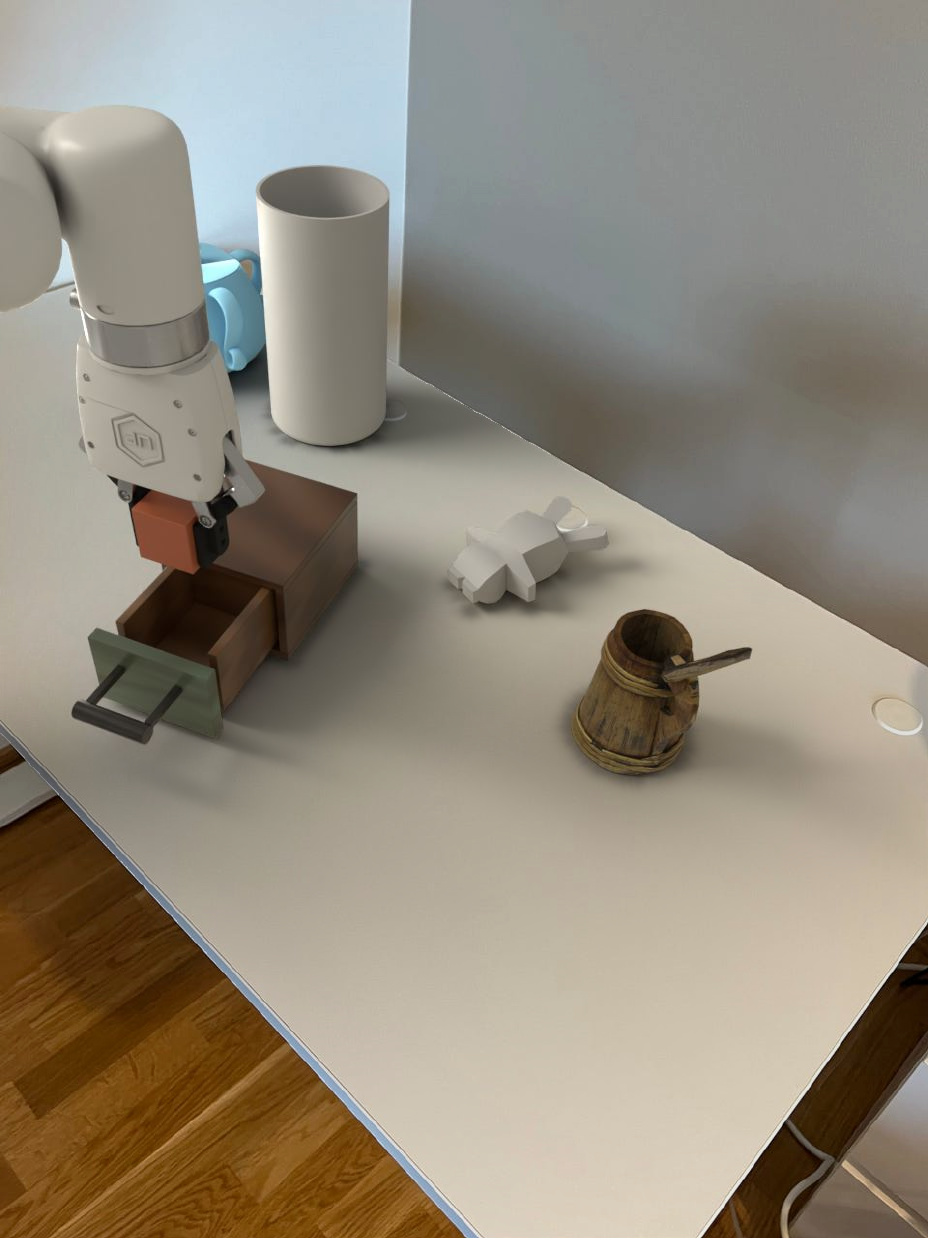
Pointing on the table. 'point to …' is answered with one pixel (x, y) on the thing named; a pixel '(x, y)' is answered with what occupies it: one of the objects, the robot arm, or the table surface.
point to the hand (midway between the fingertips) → (182, 544)
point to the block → (166, 530)
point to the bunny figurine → (520, 553)
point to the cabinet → (293, 548)
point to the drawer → (180, 652)
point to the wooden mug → (643, 693)
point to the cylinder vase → (325, 300)
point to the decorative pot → (233, 304)
